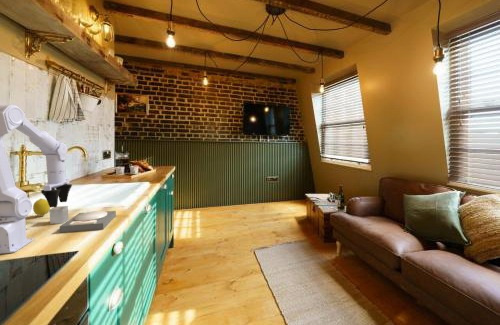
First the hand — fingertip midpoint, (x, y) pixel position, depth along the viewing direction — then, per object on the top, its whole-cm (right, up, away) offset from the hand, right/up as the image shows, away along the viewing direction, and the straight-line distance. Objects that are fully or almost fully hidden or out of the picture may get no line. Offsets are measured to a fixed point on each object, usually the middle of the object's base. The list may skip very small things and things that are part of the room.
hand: (58, 204), depth 94 cm
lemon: (-13, -7, +7) cm, 17 cm away
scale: (+14, -8, -1) cm, 16 cm away
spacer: (0, -7, +1) cm, 8 cm away
